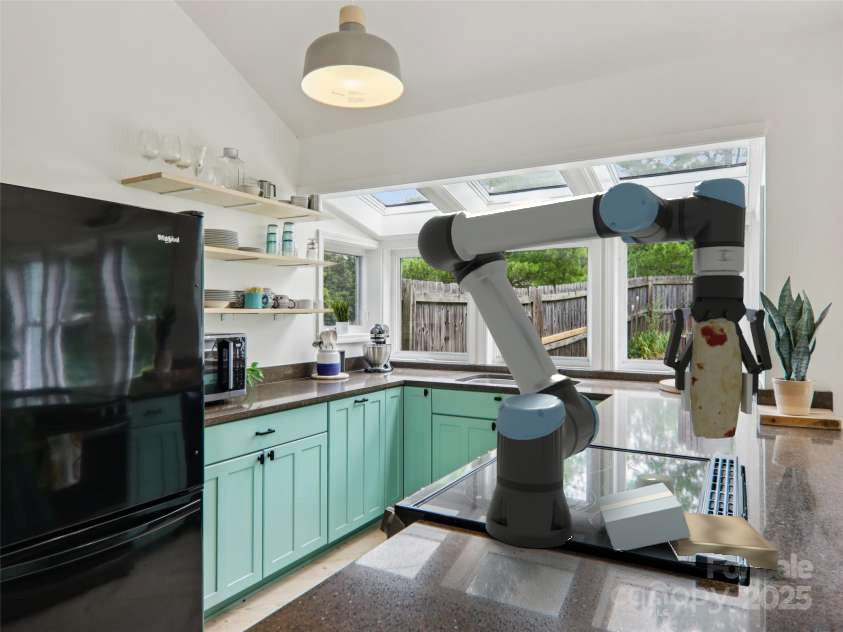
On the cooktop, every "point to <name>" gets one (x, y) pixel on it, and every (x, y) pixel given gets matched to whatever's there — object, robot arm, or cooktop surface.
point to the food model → (715, 379)
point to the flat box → (642, 517)
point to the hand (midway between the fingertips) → (715, 411)
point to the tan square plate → (726, 539)
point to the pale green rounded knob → (656, 481)
